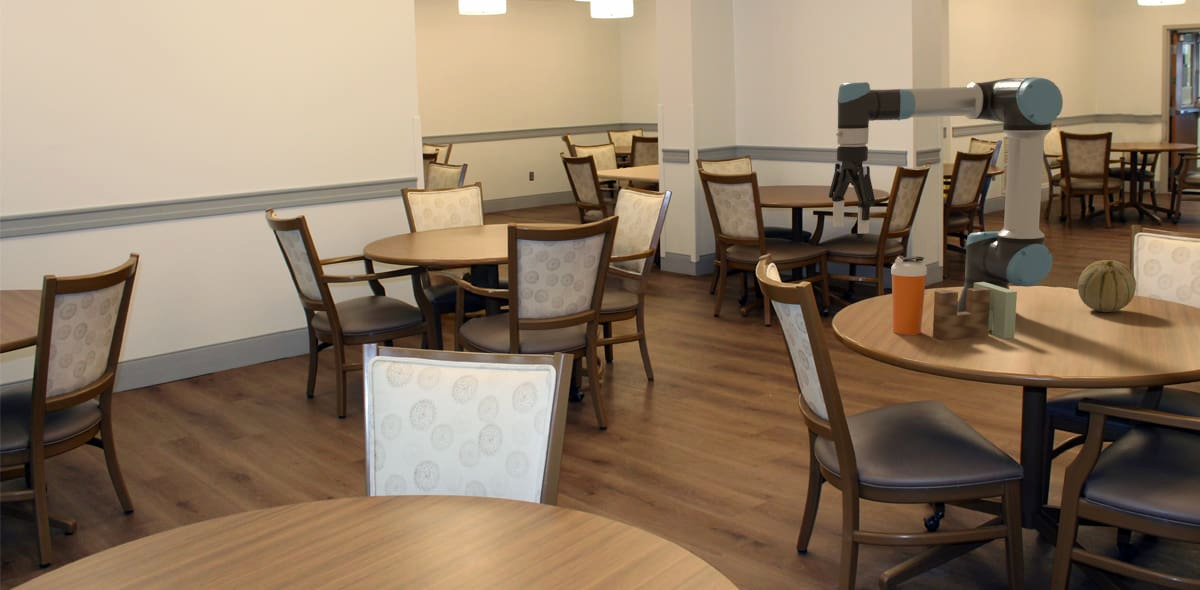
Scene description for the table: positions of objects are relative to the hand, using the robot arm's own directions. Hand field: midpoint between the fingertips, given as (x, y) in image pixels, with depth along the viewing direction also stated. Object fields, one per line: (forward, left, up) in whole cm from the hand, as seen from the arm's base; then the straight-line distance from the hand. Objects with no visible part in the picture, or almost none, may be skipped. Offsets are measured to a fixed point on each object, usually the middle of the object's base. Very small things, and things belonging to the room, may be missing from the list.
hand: (850, 229), depth 256 cm
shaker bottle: (-17, 0, -28) cm, 33 cm away
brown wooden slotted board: (-27, +9, -28) cm, 40 cm away
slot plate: (-37, +8, -28) cm, 47 cm away
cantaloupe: (-80, -3, -28) cm, 85 cm away
